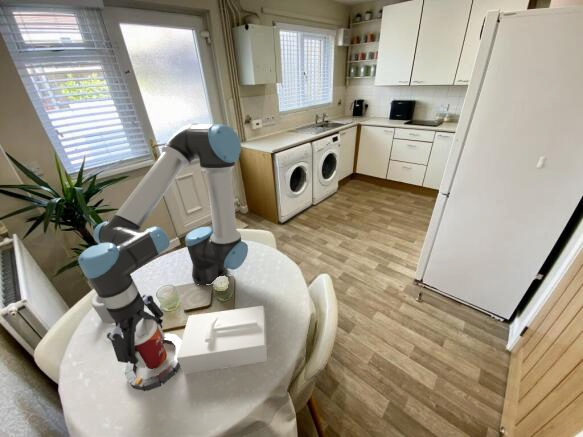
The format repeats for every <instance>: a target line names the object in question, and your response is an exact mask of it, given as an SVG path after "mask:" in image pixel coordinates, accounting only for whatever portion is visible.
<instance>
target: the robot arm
mask: <svg viewBox="0 0 583 437" xmlns="http://www.w3.org/2000/svg"><path fill="white" fill-rule="evenodd" d="M241 151H242V144H241V139H240V137H239V135H238V134H237V132H236V131H235V130H234V129H233V128H232V127H231V126H229V125H226V124H221V123H189V124H187V125H184V126H182V127H181V128H179V129H178V130H177V131H176V132H175V133H174V134H173V135H172V136H171V137H170V138H169V139H168V140H167V141H166V142H165V144H164V145H163V146H162V147H161V154H160V156H159V157H158V159H156V161H155V162H154V164H153V165H152V166H151V168H150V169H149V170H148V172H147V173H146V174H145V175H144V177H143V178H141V180H140V182H139V183H138V185H137V186H136V187H135V188H134V190H133V191H132V192H131V194H129V196H128V198H127V199H126V200H125V202H124V203H123V204H122V206H120V208H119V209H118V211H116V213H115V214H114V215H113V217H112V218H111V219H110V220H107V221H102V222H101V223H99V224H98V225H96V227H94V230H93V239H94V241H95V243H97V244H96V245H92V246H89V247H88V248H86V249H85V250H83V251H82V252H81V254H79V256H78V259H77V262H78V264H79V266H80V269H81V270H82V272H83V276H84V277H86V279H87V281H89V283H90V285H91V286H92V288H93V290H94V291H95V292H96V294H98V296H99V298H100V299H101V301H102V302H103V304H104V306H105V307H106V309H107V311H108V312H109V314H110V316H111V317H112V318H113V319H114V320H115V322H116V323H115V328H114V329H113V331H112V332H108V333H107V335H106V338H107V339H109V341H110V342H111V345H112V348H113V350H114V354H115V358H116V360H117V362H119V363H125V364H127V363H128V362H130V363H131V364H135V365H136V367H137V368H143V369H146V368H147V367H146V364H145V362H144V360H143V359H142V357H141V355H140V354H139V352H135V345H134V344H135V342H134V340H135V332H136V325H137V324H138V322H139V321H141V319H149V320H151V319H152V320H154V321H155V322H156V323H157V329H158V332H159V334H160V337H161V339H165V338H166V337H165V335H164V334H165V333H164V331H163V325H162V324H163V321H164V320H163V319H162V317H164V312H163V310H162V309H161V308H160V307H159V306H158V305H157V303H156V302H155V301H154V297H153V296H152V295H150V294H143V295H142V296H141V294H140V291H139V288H138V286H137V285H136V283H135V281H134V279H133V277H132V275H131V273H132V272H134V271H136V270H137V269H138V268H140V267H141V266H143V265H145V264H147V263H148V262H149V261H151V260H153V259H154V258H156V257H157V256H160V255H161V253H163V252H164V251H166V249H168V248H169V247H170V239H169V236H168V234H167V233H166V232H165V230H163V229H162V228H161V227H159V226H156V225H155V226H154V225H153V226H150V227H149V228H146V229H144V230H140V229H141V228H142V226H144V223H145V222H146V220H148V218H149V217H150V215H151V214H152V212H153V210H155V208H156V207H157V205H158V204H159V203H160V201H161V199H162V198H163V197H164V195H165V194H166V192H167V191H168V189H169V188H170V187H171V185H172V184H173V183H174V181H175V179H176V178H177V177H178V175H179V174H180V172H181V171H182V169H183V168H187V167H189V165H190V164H191V162H193V161H194V160H197V159H198V160H199V166H200V168H201V169H202V170H203V171H204V172H205V175H206V176H205V177H206V184H207V185H206V186H207V191H208V200H209V207H210V214H211V221H212V222H211V223H212V226H200V227H197V228H194V229H193V230H191V231H190V232H188V233H187V234H186V236H185V238H184V242H185V246H186V248H187V251H188V254H189V257H190V260H191V263H192V270H191V277H192V281H193V282H194V284H196V285H197V284H199V285H198V286H200V285H206V284H211V283H212V282H213V281H214V280H215V279H216V278H217V277H219V276H224V275H225V276H227V272H228V269H229V270H233V271H234V270H237V269H238V268H240V267H241V266H242V265H243V264H244V262H245V260H246V259H247V256H248V253H249V247H248V246H249V245H248V244H247V243H246V242H245V241H242V234H241V232H240V231H238V230H237V222H236V210H235V198H234V189H233V176H232V170H233V169H234V168H235V166H236V161H238V160H239V158H240V155H241V153H242V152H241ZM145 307H146V308H147V309H148V310H149V311H150V313H152V314H150V313H149V312H147V311H145Z"/></svg>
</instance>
